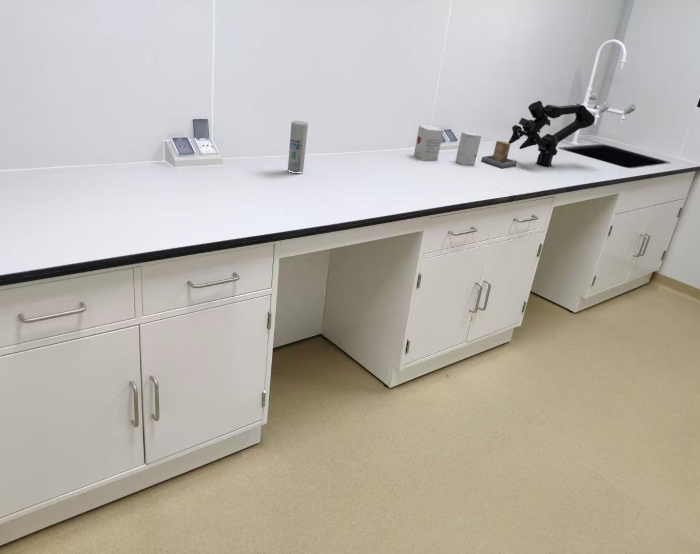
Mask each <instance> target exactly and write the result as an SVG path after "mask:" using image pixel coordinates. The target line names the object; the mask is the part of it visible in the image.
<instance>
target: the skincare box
mask: <svg viewBox="0 0 700 554" xmlns="http://www.w3.org/2000/svg"><path fill="white" fill-rule="evenodd" d="M460 134H461V135H460V138H459V144H458V148H457V153H456V157H455V163H457V164H458V165H463V166H466V165H467V166H468V165H469V166H475V164H476V159H477V156H478V152H479V147H480V144H481V139H482V134H481V135H480V134H478V133H474V132H469V131H461V133H460Z"/></svg>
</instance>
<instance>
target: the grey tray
mask: <svg viewBox="0 0 700 554" xmlns="http://www.w3.org/2000/svg"><path fill="white" fill-rule="evenodd" d="M492 158H493V155H485V156H482V157H481V160H480V163H485V164H487V165H490V166H493V167H496V168H499V169H508V168H513V167H516V166H517V161H516V160H513V159H510V158H507V160H506V163H501V162H498V161H495V160H492Z"/></svg>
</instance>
